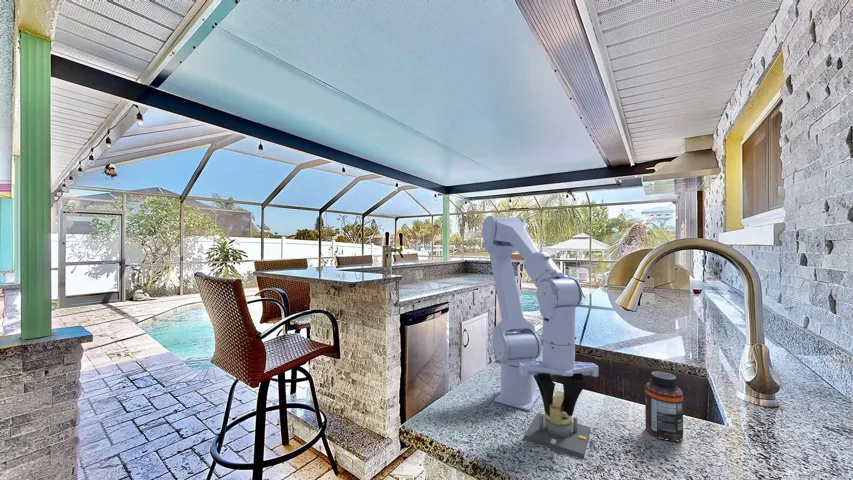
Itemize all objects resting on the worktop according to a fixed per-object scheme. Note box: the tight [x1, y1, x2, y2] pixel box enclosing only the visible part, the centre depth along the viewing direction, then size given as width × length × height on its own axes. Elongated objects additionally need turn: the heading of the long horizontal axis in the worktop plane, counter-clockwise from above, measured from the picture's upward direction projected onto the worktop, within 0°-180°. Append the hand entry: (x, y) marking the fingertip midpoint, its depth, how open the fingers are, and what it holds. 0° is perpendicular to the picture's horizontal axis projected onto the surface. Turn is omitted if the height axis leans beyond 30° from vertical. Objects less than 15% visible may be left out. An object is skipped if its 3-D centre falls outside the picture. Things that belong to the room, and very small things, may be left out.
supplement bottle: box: [644, 370, 684, 441], centre depth 64 cm, size 6×6×11 cm
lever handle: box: [544, 390, 573, 426], centre depth 63 cm, size 7×5×4 cm
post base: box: [523, 412, 591, 460], centre depth 62 cm, size 10×10×3 cm
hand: (558, 413), depth 63 cm, fingers closed on lever handle, 3 cm apart
